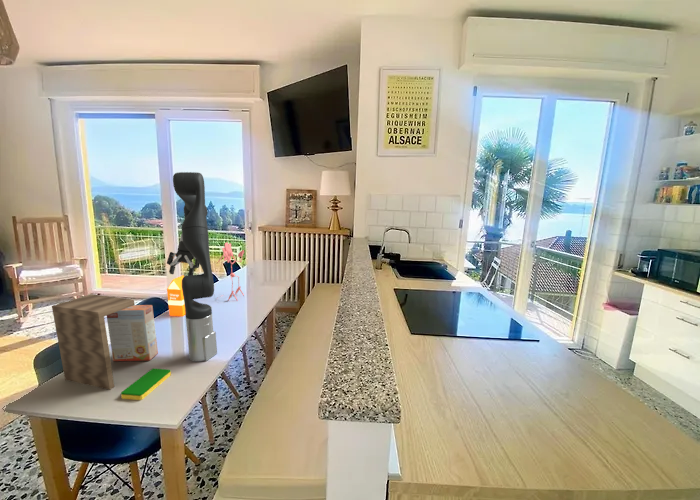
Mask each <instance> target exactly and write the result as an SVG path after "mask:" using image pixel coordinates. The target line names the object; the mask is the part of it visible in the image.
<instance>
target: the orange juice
mask: <svg viewBox="0 0 700 500" xmlns="http://www.w3.org/2000/svg"><path fill="white" fill-rule="evenodd" d="M184 276H185V275H183V274H182V275H180V276H177V277H175V278H172V280H171V282H169V283H170V284H169V285H168V287H167V289H166V290H167V291H166V292H167V293H166V295H167V304H168V311H169V313H168V314H169V316H170V317H171V316H172V317H185V304H184V297H183V291H182V279H183V277H184Z"/></svg>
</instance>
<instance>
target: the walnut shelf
mask: <svg viewBox="0 0 700 500" xmlns="http://www.w3.org/2000/svg"><path fill="white" fill-rule="evenodd" d="M133 305H135V300H134V299H132V298H122V297H116V296H115V297H114V296H107V295H98V294H91V293H90V294H88V295H84V296H81V297H80V296H79V297H78V298H73V299H71V300H66V301H64V302H60V303H57V304H53V305H51V309H52V314H53V316H52V317H53V321H54V326H55V332H56V337H57V344H58V348H59V354H60V360H61V365H62V369H63V370H62V371H63V377H64V380H65V381H68V382H72V383H77V384H82V385H86V386H91V387H95V388H101V389H104V390H105V389H106V390H108V391H109V390H112V389H114V388H115V381H114V375H113V367H112V361H111V354H110V349H109V348H110V347H109V340H108V334H107V327H106V322H105V317H107V315H109V314H112V313H115V312H117V311H120V310H123V309H125V308H128V307H131V306H133Z"/></svg>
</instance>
